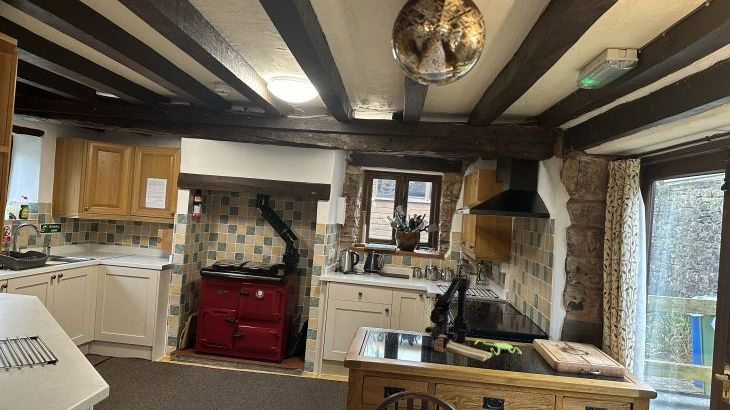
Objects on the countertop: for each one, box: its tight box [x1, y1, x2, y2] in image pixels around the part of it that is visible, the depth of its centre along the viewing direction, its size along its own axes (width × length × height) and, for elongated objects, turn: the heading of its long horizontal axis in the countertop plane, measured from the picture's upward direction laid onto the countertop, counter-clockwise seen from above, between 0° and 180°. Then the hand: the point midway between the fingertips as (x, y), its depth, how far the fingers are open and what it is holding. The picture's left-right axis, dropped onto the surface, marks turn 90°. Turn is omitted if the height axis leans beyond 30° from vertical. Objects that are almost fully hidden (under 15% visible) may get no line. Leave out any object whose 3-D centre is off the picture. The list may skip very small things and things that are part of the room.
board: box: [446, 341, 493, 362], centre depth 271 cm, size 12×28×2 cm, turn 52°
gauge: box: [433, 337, 453, 353], centre depth 274 cm, size 16×5×6 cm, turn 142°
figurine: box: [473, 339, 523, 357], centre depth 280 cm, size 18×26×6 cm
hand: (440, 347), depth 271 cm, fingers closed on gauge, 5 cm apart
